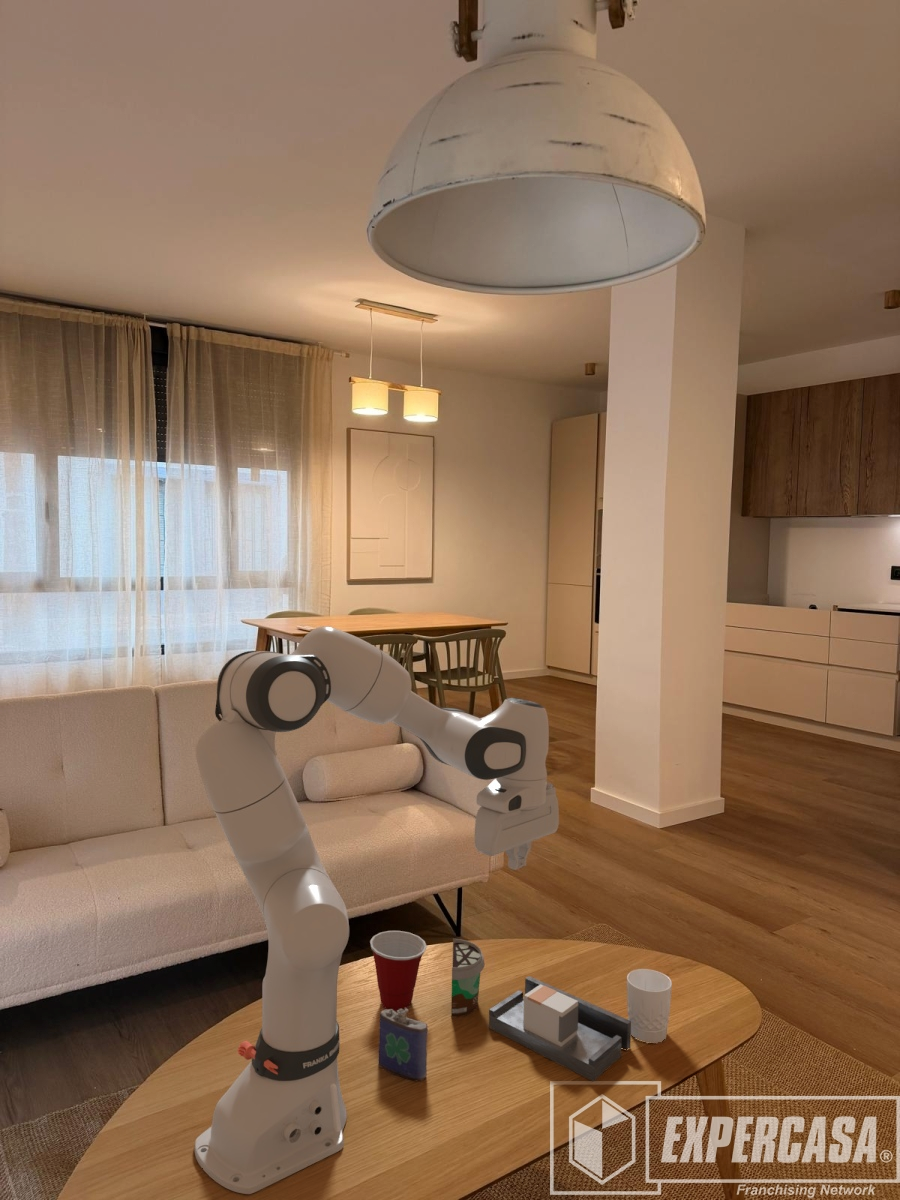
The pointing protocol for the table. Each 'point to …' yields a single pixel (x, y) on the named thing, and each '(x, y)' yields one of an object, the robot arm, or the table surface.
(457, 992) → the food container
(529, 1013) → the block
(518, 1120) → the table surface
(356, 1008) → the table surface
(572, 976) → the table surface
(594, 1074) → the dark grey tray
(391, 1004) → the plastic cup
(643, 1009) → the white cup
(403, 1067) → the flask
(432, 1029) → the table surface
